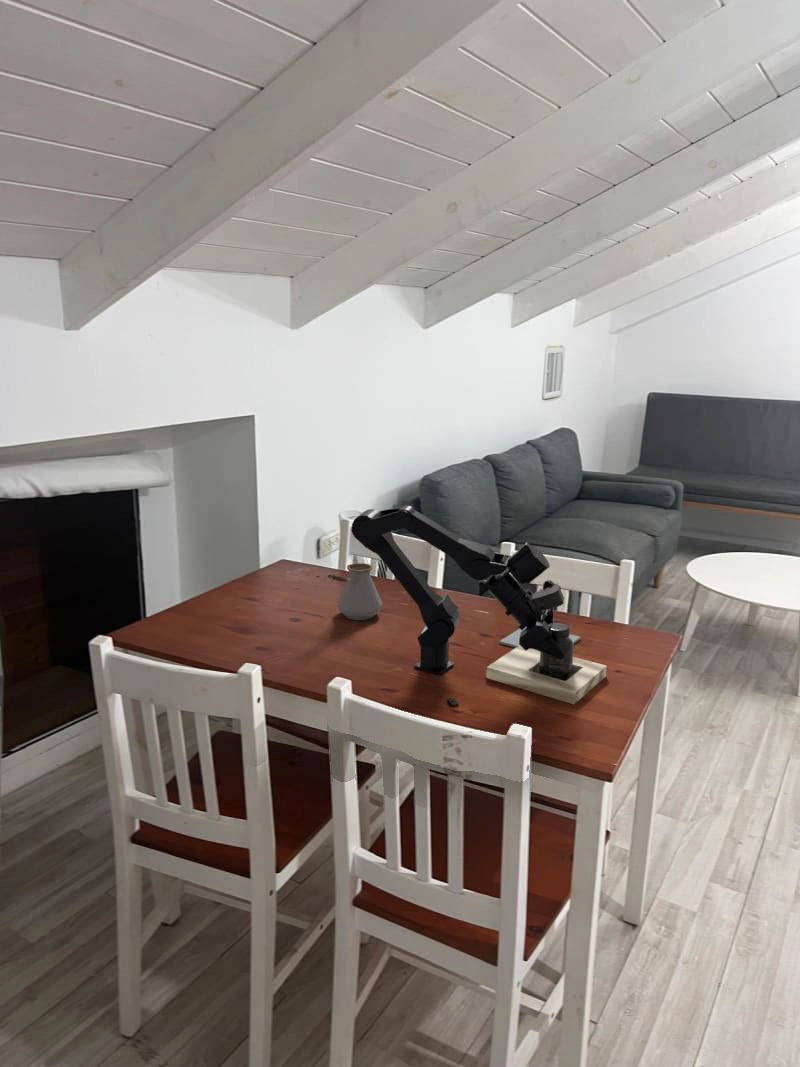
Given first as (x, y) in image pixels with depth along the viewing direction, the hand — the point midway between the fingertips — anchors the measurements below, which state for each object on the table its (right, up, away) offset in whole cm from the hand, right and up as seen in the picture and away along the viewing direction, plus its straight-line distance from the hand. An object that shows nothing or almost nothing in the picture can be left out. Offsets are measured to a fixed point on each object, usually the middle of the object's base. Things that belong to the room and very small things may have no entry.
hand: (563, 651), depth 168 cm
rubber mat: (-1, -1, +22) cm, 22 cm away
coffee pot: (-47, +2, +34) cm, 58 cm away
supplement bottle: (-1, -6, +2) cm, 7 cm away
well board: (-3, -6, +3) cm, 7 cm away
